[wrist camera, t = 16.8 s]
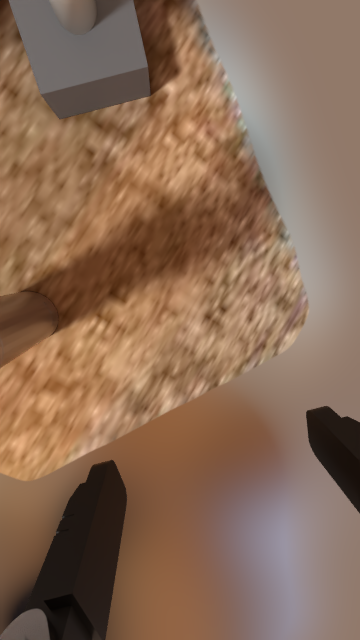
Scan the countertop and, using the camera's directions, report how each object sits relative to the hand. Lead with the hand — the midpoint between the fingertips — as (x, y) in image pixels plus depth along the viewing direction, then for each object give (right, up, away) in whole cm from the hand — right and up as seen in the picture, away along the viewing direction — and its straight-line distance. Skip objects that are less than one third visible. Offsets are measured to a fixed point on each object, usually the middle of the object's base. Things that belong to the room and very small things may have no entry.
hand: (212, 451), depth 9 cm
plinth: (-14, +43, +21) cm, 50 cm away
